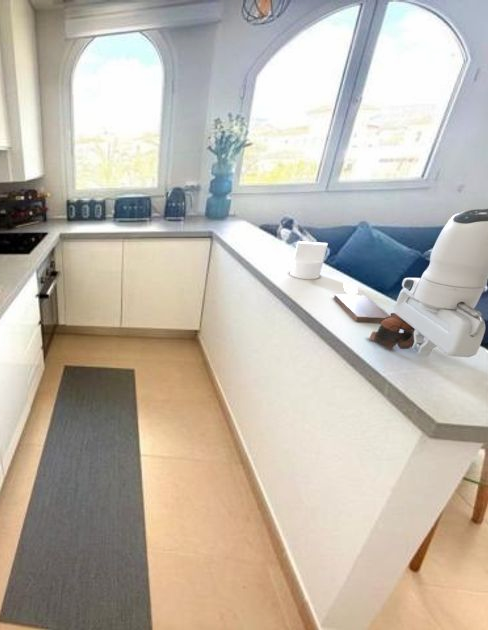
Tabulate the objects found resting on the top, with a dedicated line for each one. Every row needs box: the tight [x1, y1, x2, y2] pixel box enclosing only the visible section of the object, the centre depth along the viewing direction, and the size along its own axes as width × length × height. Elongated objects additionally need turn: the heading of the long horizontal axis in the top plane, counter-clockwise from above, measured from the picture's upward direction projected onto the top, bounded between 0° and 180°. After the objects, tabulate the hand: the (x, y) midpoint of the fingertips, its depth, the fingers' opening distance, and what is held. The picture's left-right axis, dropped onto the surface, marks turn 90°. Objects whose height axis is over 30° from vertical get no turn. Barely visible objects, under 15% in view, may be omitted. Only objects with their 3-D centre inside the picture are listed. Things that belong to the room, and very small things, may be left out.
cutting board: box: [333, 293, 391, 324], centre depth 99 cm, size 8×16×2 cm, turn 163°
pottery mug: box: [368, 312, 415, 351], centre depth 81 cm, size 12×10×8 cm
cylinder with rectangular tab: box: [289, 240, 329, 280], centre depth 124 cm, size 9×9×12 cm
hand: (419, 351), depth 75 cm, fingers closed
